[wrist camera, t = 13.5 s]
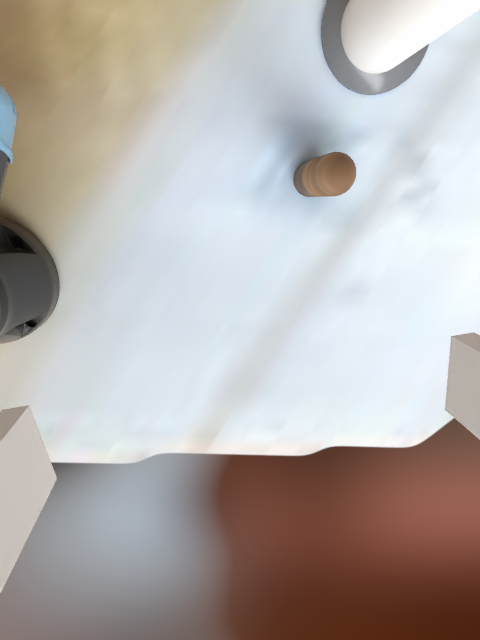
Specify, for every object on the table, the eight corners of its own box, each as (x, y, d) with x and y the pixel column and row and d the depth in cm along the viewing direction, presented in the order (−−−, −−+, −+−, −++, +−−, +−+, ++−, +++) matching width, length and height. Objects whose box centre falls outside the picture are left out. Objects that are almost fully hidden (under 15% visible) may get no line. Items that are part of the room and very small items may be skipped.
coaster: (316, 92, 40) (318, 90, 40) (326, -45, 36) (328, -48, 36) (418, 97, 41) (421, 96, 41) (438, -35, 37) (442, -39, 37)
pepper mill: (292, 196, 43) (318, 195, 34) (294, 160, 42) (322, 148, 32) (324, 196, 44) (360, 196, 34) (328, 161, 43) (365, 150, 33)
